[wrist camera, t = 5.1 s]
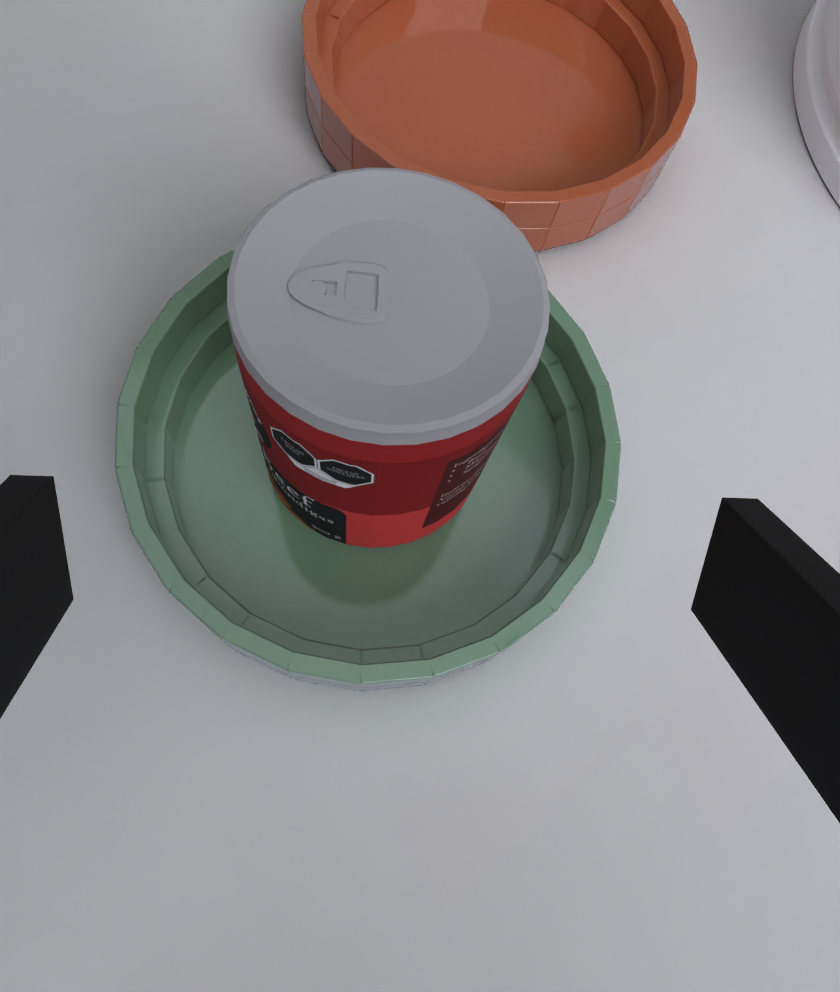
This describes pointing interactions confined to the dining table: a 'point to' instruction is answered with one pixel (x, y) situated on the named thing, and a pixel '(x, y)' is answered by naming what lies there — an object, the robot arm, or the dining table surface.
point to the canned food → (383, 346)
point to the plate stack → (820, 89)
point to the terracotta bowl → (506, 99)
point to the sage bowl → (347, 568)
